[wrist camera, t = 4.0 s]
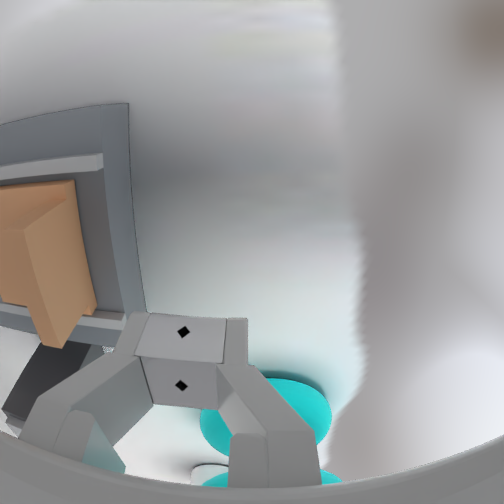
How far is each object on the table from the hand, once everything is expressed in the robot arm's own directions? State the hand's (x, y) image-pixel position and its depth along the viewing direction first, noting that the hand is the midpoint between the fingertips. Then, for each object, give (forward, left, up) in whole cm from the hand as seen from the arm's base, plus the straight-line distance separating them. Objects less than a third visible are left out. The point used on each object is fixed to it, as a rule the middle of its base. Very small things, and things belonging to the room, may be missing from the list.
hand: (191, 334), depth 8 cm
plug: (-14, +3, -8) cm, 17 cm away
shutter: (-5, +7, -5) cm, 10 cm away
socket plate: (-6, +8, -8) cm, 13 cm away
